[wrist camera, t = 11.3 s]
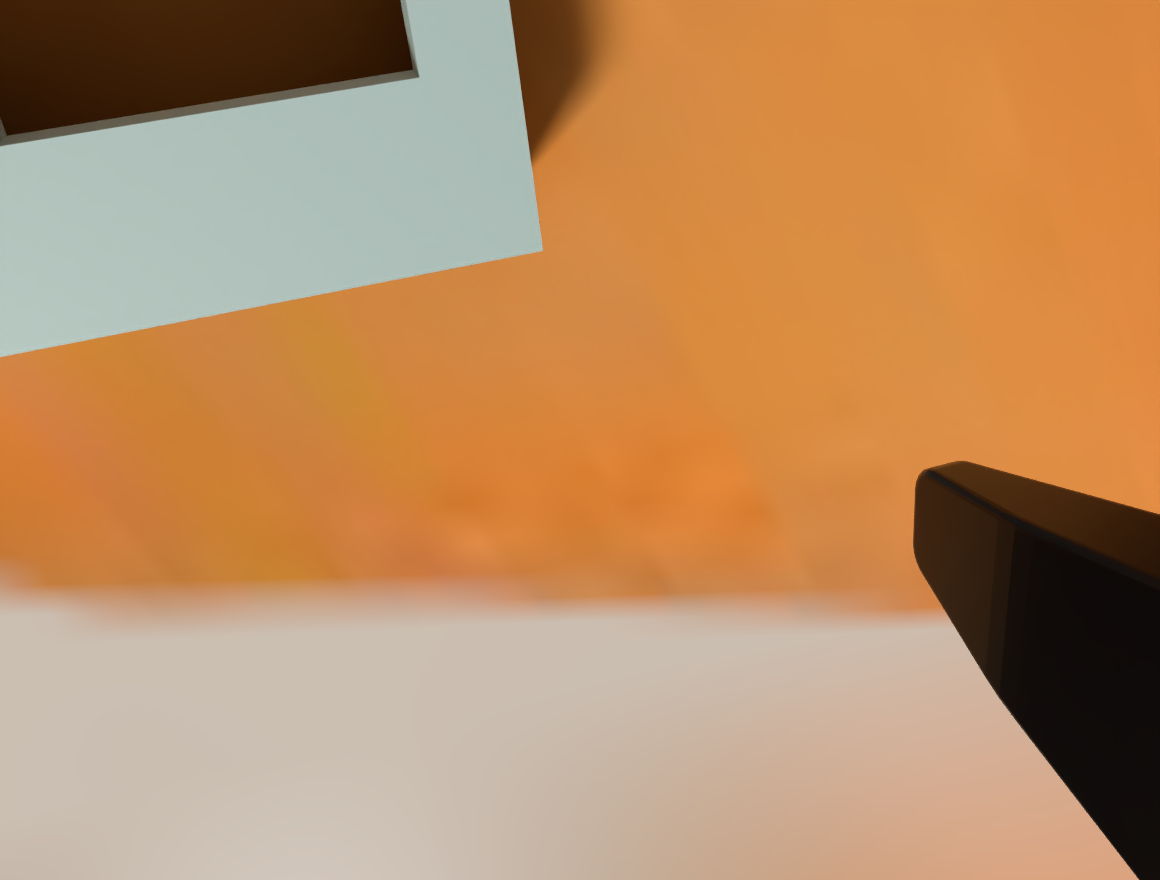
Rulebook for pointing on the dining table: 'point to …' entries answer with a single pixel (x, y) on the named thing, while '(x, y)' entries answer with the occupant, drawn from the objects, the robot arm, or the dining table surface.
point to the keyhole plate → (271, 191)
